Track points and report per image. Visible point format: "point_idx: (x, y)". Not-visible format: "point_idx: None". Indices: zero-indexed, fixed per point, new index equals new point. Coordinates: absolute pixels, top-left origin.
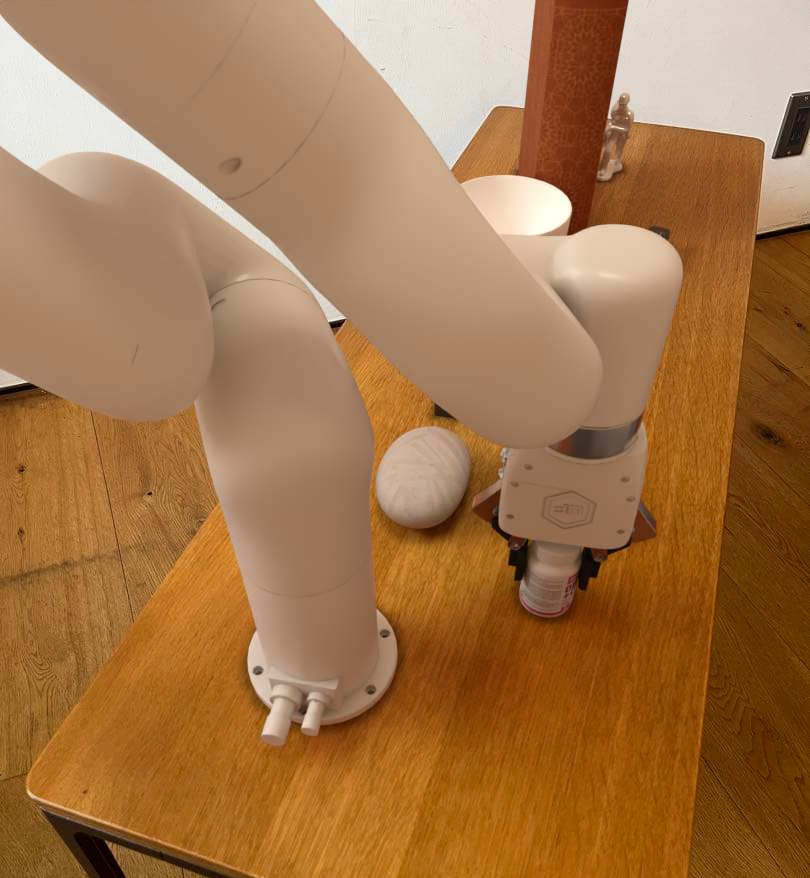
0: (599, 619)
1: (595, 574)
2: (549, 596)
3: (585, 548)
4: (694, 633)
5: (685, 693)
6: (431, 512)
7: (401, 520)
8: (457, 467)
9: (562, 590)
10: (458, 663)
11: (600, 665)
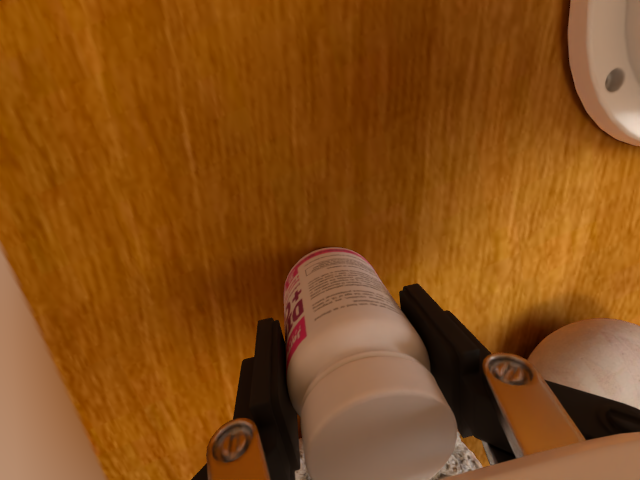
0: (226, 284)
1: (246, 369)
2: (330, 278)
3: (291, 438)
4: (53, 324)
5: (3, 192)
6: (589, 361)
7: (623, 325)
8: None
9: (309, 300)
10: (448, 87)
11: (188, 190)
